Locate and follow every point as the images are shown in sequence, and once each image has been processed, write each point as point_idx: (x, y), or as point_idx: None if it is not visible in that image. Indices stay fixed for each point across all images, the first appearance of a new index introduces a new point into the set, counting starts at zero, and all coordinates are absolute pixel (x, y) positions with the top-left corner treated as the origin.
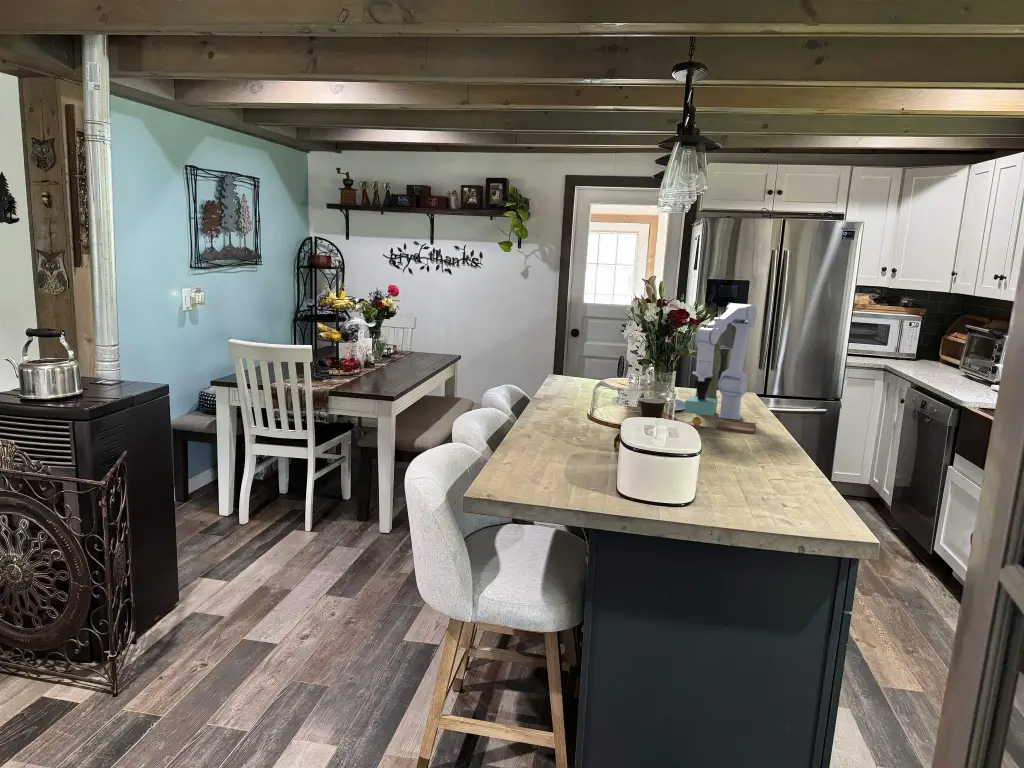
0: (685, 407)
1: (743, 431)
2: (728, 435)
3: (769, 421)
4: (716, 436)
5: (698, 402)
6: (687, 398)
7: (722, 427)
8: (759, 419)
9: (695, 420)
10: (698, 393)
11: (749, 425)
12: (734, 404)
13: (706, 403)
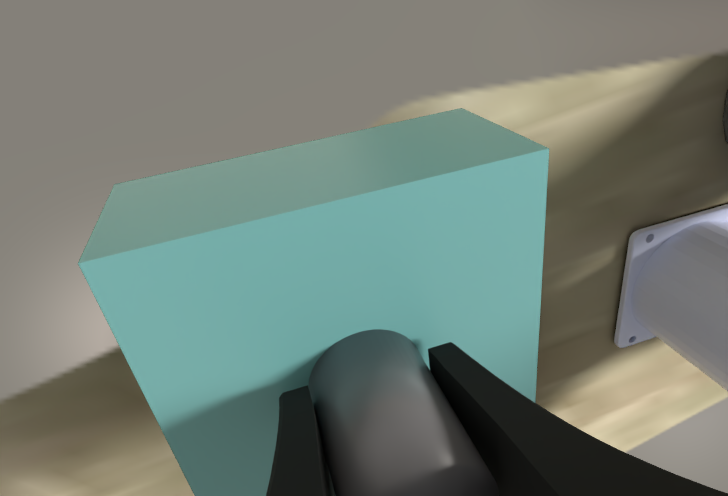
0: (106, 216)
1: None
2: (155, 466)
3: (650, 434)
4: (44, 441)
5: (162, 419)
6: (311, 207)
7: None
8: (678, 392)
9: None
10: (281, 465)
11: None
12: (713, 375)
13: (194, 492)
